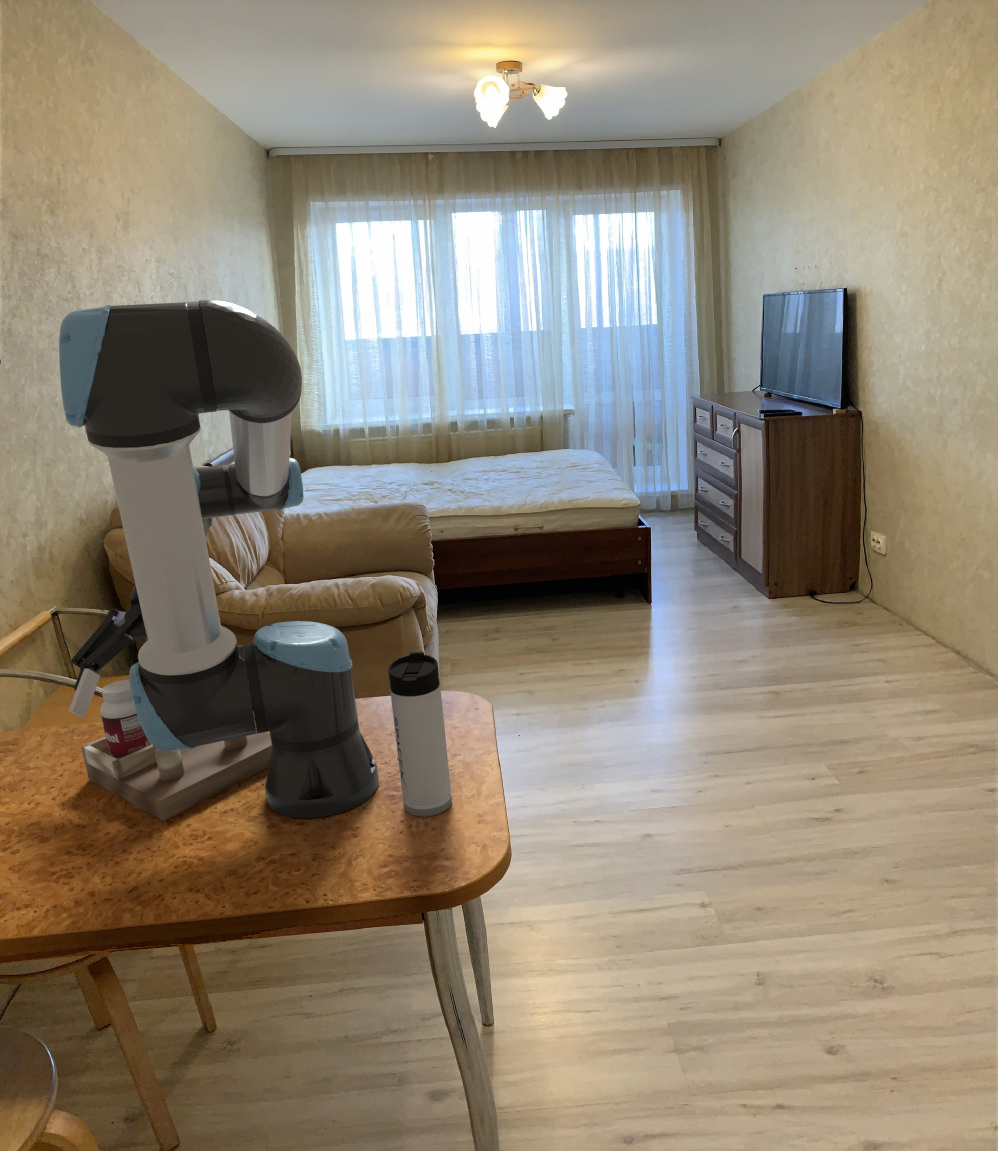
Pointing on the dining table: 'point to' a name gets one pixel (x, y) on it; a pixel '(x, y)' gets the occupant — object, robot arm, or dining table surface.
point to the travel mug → (420, 734)
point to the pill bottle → (121, 720)
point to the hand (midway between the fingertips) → (116, 717)
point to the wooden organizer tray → (176, 772)
